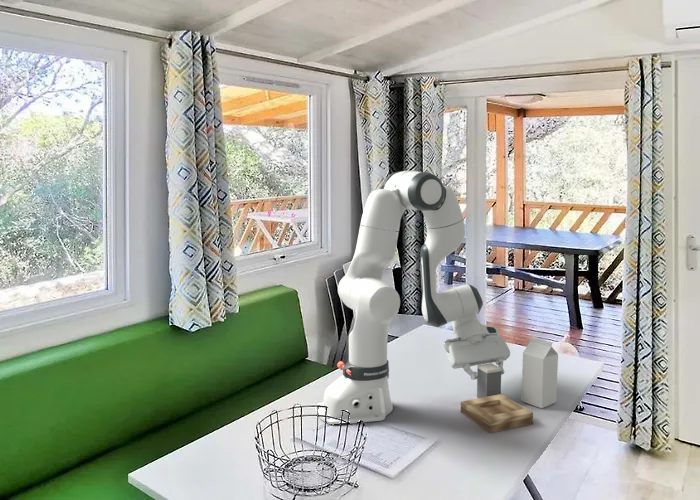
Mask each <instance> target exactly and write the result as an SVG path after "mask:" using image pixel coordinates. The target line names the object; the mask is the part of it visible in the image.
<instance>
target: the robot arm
mask: <svg viewBox="0 0 700 500" xmlns="http://www.w3.org/2000/svg"><path fill="white" fill-rule="evenodd" d="M406 210H410V211H421V212H422V214H423V217H424V222H425V226H426V238H425V242H424V243H423V245H421V247H420V253H419V260H420V261H419V263H420V264H419V266H420V280H421V281H420V283H421V285H420V286H421V313H422V317H423V318H424V322H425V323H427V324H428V325H430V326H433V327H436V328H439V327H442V326H445V325H446V324H448V323H450V324H451V326H452V329H453V335H454V337H455V338H451V339H450V338H449V339H446V340H445V341H444V343H443V347H444V350H445V352H446V356H447V358H448V362H449V365H450V367H451V368H452V369H454V370H456V369H463V371H464V372H465V373H466V374H467V375H469V377H470V379H471V381H474V380H477V378H478V375H477V371H474V370H473V369H472V368H471V367H474V366H478V365H483V364H489V363H492V364H494V363H495V365H496V366H498V367H500V368H501V376H503V375H504V374H505V370H504V361H507V359H509V358H510V357H511V356H510V355H511V351H510V349H509V346H508V343H506V340H505V339H504V337H503V336H501V335H500V331H499V328H497V327H495V326H489V325H485V324H482V323H481V322H480V320H479V319H478V318H477V315H478V314H479V313H480V311H481V310H482V308H483V305H484V302H483V298H482V297H481V294H480V293H479V290H478V288H476V287H475V286H474V285H472V284H470V283H469V284H468V283H466V284H461V285H459V286H458V285H457V286H454V287H453V288H450V289H447V290H444V291H443V290H442V291H440V292H437V291H438V290H437V275H436V274H437V273H436V271H437V267H438V266H439V265H440V263H441V262H442V261H443V260H444V259H445V258H447V257H448V256H449V255H451V254H452V253H453V252H455V251H456V250H457V249H458V248H460V246H461V245H462V243H463V241H464V239H465V236H466V227H465V221H464V218H463V213H462V209H461V206H460V202H459V201H458V198H457V196H456V193H455V191H454V189H452V188H451V187H450V186H448V185H444V184H443V182H442V180H441V178H439V177H438V176H437V175H435V174H433V173H431V172H428V171H427V172H426V171H417V170H414V169H413V170H412V169H411V170H397V171H395V172H392V173H391V174H389V175H388V176H387V177H386V178H385V179H384V181H383V183H382V185H381V186H380V187H379V188H378V189H375V190H373V191H371V192H370V193H369V195H368V197H367V200H366V202H365V205H364V209H363V210H362V211H363V212H362V215H361V220H360V225H359V230H358V236H357V240H356V246H355V250H354V254H353V258H352V260H351V261H350V265H349V266H348V269H347V271H346V273H345V275H344V276H343V277H342V278H341V279H340V281H339V282H338V285H337V294H338V296H339V299H340V300H341V301H342V303H343V304H344V305H345V306H346V307H347V308H349V309H351V310H353V311H354V312H355V319H354V325H353V327H352V330H351V332H350V333H349V334H348V360H347V362H346V363H344V362H343V361H341V360H340V361H338V363H337V364H336V366H337V368H338V369H339V370H341V371H342V374H341V375H340V376H339V377H338V378H336V379H335V381H333V382H331V384H329V386H327V387H326V388H325V390H324V392H323V393H324V394H323V399H322V400H323V401H322V402H318V403H317V404H316V405H325V406H327V407H328V408H327V415H328V416H332V417H335V418H339V419H340V418H341V413H342V411H341V410H348V411H349V412H350V415H349V417H350V418H349V421H350V424H357V422H358V421H359V420H360V419H361V420H362V421H363V422H362V423H369V422H380V421H384V420H385V419H386V417H387V416H388V415H389V414H391V412H392V411H393V409H394V406H393V402H392V399H391V394H390V387H389V378H390V377H389V376H390V365H389V363H390V362H389V360H388V336H389V335H388V334H389V330H390V325H391V323H392V320H393V318H394V317H395V316H396V315H397V314H398V312H399V309H400V306H401V298H400V294H399V293H398V291H397V290H396V289H395V287H393V286H392V285H391V284H390V283H388V282H387V281H385V280H382V278H383V275H384V273H385V271H386V269H387V267H388V265H389V264H390V263H392V261H394V258H395V255H396V248H397V245H398V237H399V233H400V227H401V220H402V217H403V215H404V213H405V211H406ZM325 411H326V410H325V408H319V409H318V413H319V415H325ZM315 413H317V409H316V408H315ZM318 418H319V419H320V420H321V421H322V422H325V418H324V417H318ZM342 418H343V420H346V421H347V420H348V413H347V412H345V411H343V417H342ZM339 422H340V421H338V420H335V419H332V418H327V423H326V422H325V423H326V424H328V425H331V424H332V426H335V425H334V424H339Z"/></svg>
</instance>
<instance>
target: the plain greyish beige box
mask: <svg viewBox="0 0 700 500" xmlns="http://www.w3.org/2000/svg"><path fill="white" fill-rule="evenodd" d="M476 366H477V369H476V370H477V371H476V372H477V375H478V378H477V379H476V398H483V397H488V396H493V395H499V394H502V393H501V392H502V375H501V368H500V367H498V365H496V364H494V363H487V364H481V365H476Z"/></svg>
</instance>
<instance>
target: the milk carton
mask: <svg viewBox="0 0 700 500" xmlns="http://www.w3.org/2000/svg"><path fill="white" fill-rule="evenodd" d="M552 344H553V343H552V342H549V341H546V340H542V339H538V338H536V337H535V338H534V337H530V341H529V343H528V344H527V345H526V347H525V349H524V350H523V352H522V369H521V370H522V372H521V375H522V376H521V401H522V402H524V403H525V404H529V405H532V406H534V407H536V408H538V409H544V408H546V407H549V406H551V405H553V404H555V403H557V394H558V393H557V390H558V387H557V386H558V370H559V369H558V368H559V352H557V351H556V350H555V349H554V347H553V346H552Z"/></svg>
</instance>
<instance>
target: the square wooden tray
mask: <svg viewBox="0 0 700 500" xmlns="http://www.w3.org/2000/svg"><path fill="white" fill-rule="evenodd" d="M460 413H461V414H462V415H463V416H466V418H468V419H469V420H471V421H472V422H473V423H474V424H476V425H478V426H479V427H480V428H482V429H483V430H484V431H486V432H487V433H489V434H492V433H497V432H501V431H506V430H510V429H515V428H520V427H525V426H529V425H533V424H534V411H532V410H530V409H528V408H526V407H524V406H523V405H521V404H519V403H518V402H516V401H514V400H513V399H511V398H509V397H508V396H506V395H505V394H502V393H501V394H499V395H493V396H488V397H483V398H478V397H476V398H473V399H467V400H463V401H462V400H461V401H460Z"/></svg>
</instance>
